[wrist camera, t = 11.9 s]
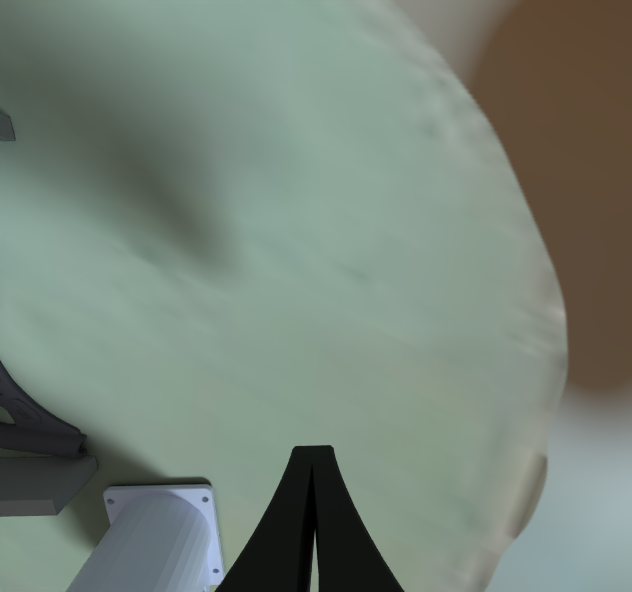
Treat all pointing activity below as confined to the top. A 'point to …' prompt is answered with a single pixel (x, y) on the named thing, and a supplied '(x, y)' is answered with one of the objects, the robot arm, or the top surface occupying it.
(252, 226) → the top surface
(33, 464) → the box
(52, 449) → the bracket
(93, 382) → the top surface
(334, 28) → the top surface
